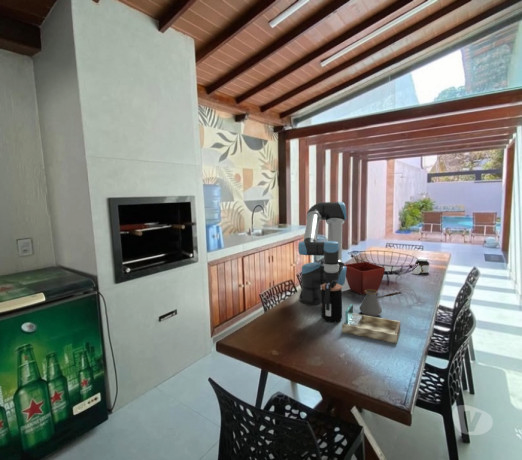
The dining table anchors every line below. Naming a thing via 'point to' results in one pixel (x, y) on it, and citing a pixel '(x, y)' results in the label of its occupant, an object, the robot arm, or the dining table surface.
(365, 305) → the coffee pot
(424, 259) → the spread jar
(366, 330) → the channel
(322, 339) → the dining table surface
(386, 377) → the dining table surface
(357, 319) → the teal piece
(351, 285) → the plant pot
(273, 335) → the dining table surface
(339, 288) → the coffee jar
